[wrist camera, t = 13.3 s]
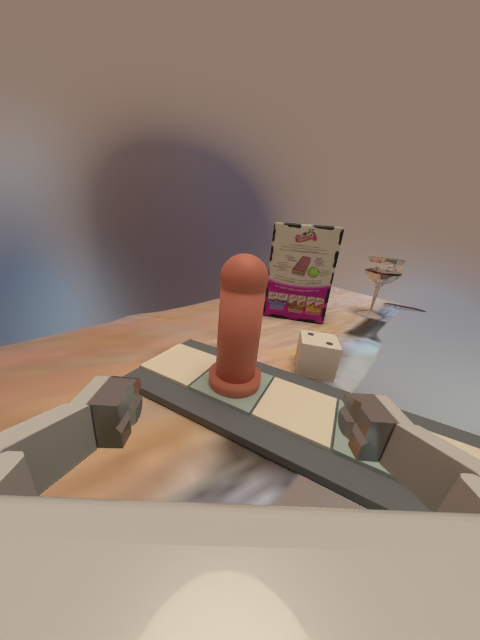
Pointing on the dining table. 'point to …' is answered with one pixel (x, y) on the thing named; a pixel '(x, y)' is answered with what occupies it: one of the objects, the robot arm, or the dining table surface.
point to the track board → (285, 424)
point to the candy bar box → (301, 270)
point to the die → (317, 355)
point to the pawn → (239, 327)
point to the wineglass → (381, 277)
